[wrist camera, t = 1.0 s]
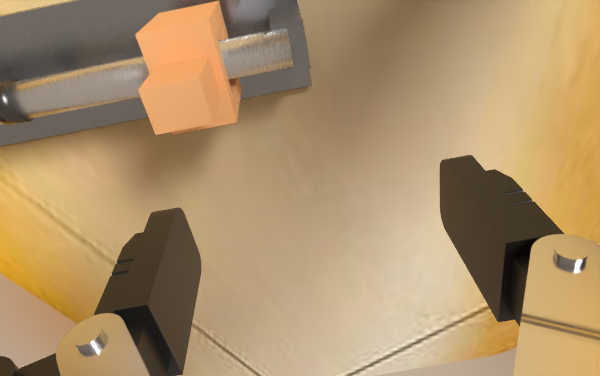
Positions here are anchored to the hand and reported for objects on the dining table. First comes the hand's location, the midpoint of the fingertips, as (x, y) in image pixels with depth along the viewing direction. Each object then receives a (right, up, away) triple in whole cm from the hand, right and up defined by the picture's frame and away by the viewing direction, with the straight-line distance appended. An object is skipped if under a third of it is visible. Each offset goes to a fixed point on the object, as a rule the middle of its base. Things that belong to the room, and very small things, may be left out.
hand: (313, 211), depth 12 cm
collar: (-7, +10, +18) cm, 22 cm away
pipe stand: (-13, +10, +21) cm, 27 cm away
